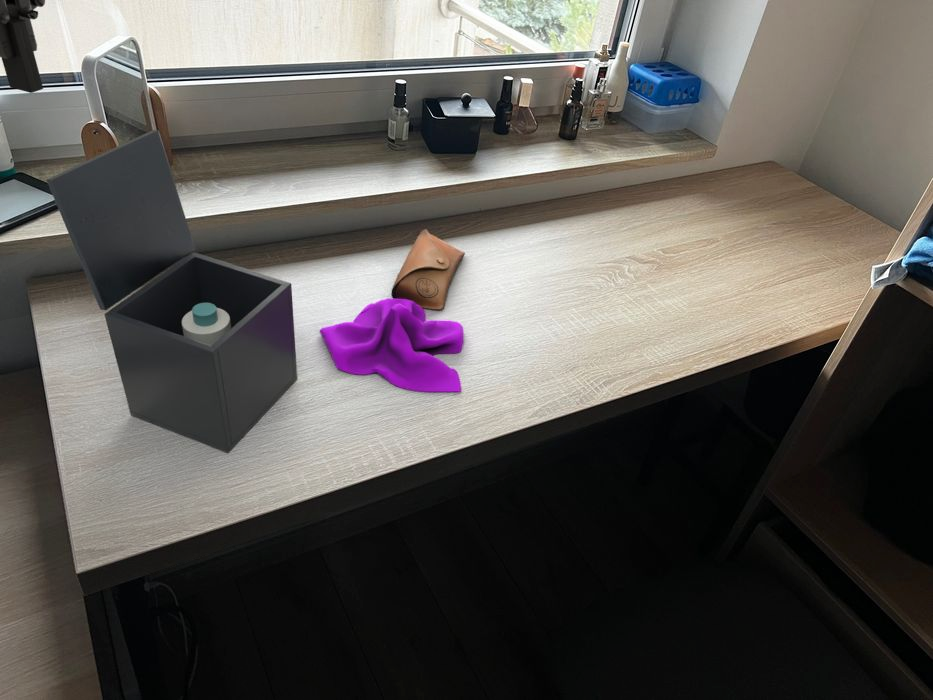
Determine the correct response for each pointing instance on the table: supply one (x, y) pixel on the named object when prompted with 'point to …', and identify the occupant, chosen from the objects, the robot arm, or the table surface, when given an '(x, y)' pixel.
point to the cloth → (397, 346)
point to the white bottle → (206, 323)
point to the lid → (123, 217)
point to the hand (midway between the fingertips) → (26, 87)
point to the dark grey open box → (205, 350)
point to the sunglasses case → (427, 272)
